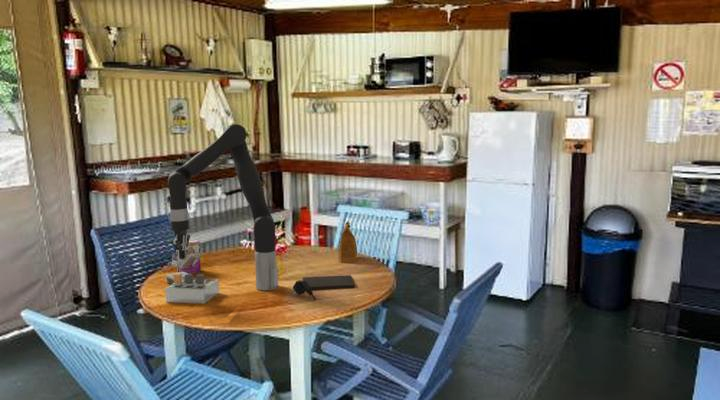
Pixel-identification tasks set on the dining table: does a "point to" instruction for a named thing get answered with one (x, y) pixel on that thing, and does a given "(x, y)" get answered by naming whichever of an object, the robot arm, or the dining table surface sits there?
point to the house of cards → (173, 261)
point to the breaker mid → (189, 280)
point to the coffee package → (347, 246)
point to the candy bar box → (190, 258)
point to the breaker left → (200, 280)
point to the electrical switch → (171, 277)
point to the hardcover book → (329, 282)
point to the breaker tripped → (177, 280)
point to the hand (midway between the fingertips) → (182, 258)
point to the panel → (192, 292)
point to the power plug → (302, 288)
